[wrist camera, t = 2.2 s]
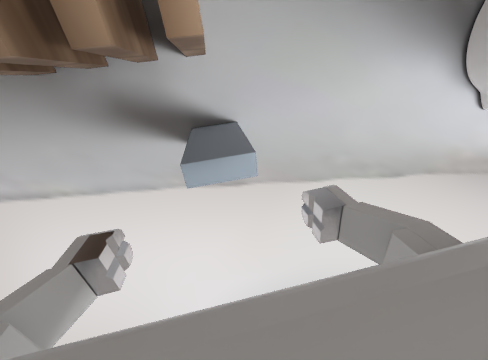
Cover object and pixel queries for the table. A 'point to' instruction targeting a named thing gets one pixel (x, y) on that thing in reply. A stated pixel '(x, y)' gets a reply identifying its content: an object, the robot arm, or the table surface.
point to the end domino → (217, 155)
